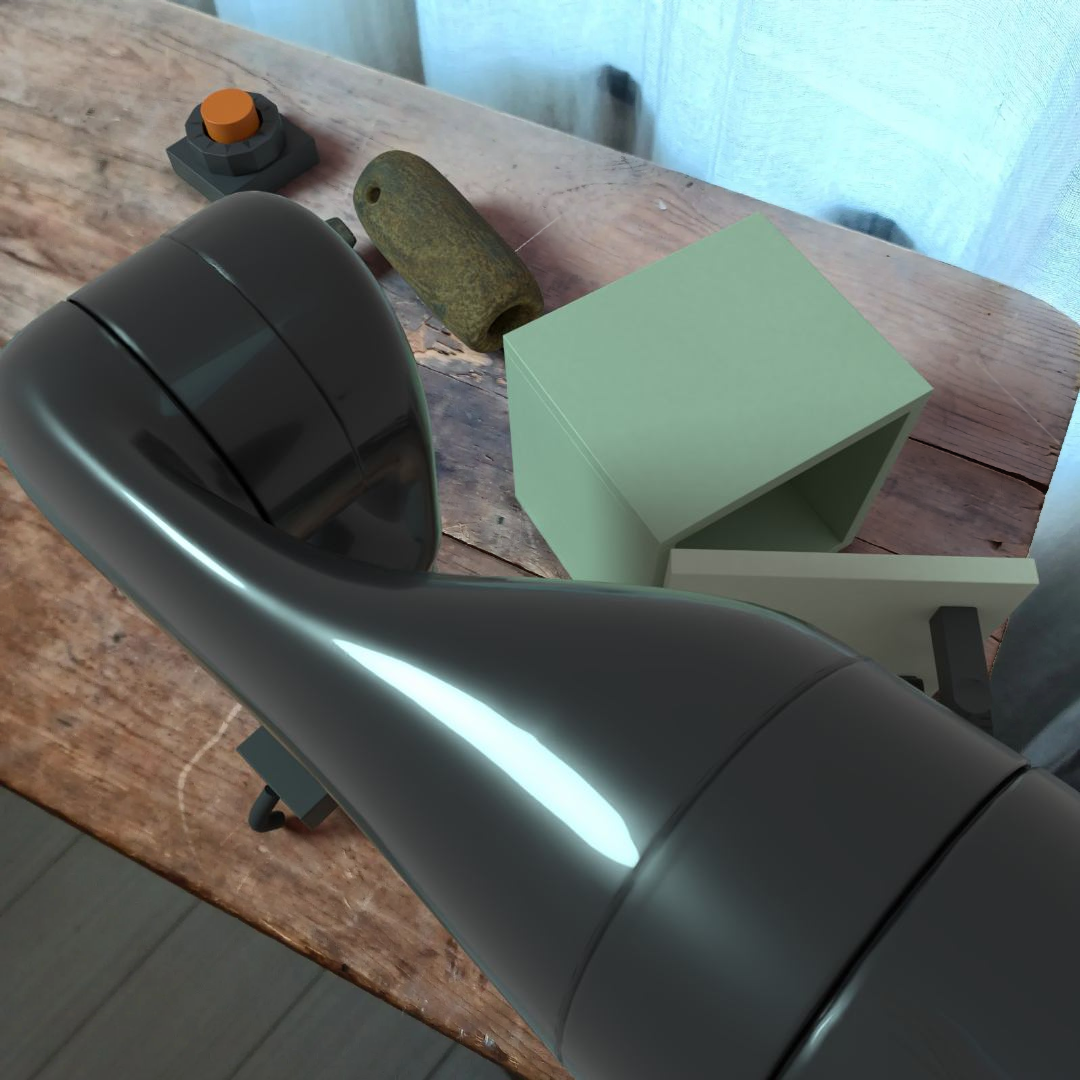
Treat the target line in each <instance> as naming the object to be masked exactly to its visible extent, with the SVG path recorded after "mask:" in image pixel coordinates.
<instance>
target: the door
mask: <svg viewBox="0 0 1080 1080" xmlns="http://www.w3.org/2000/svg"><path fill="white" fill-rule="evenodd" d="M1039 585H1040V579H1039V573H1038V568H1037V564H1036V559H1035V558H1033V557H1032V558H1031V557H1027V558H1026V557H1000V556H999V557H997V556H995V557H992V556H963V555H962V556H959V555H956V556H955V555H922V554H885V553H883V554H882V553H851V552H850V553H849V552H848V553H847V552H836V553H816V552H779V551H742V550H705V549H671V550H670V554H669V559H668V564H667V569H666V574H665V579H664V583H663V588H668V589H676V590H684V591H691V592H698V593H705V594H712V595H718V596H723V597H728V598H733V599H738V600H742V601H747V602H752V603H755V604H759V605H762V606H765V607H769V608H772V609H775V610H779V611H782V612H785V613H787V614H790V615H792V616H794V617H796V618H799V619H801V620H803V621H805V622H808V623H810V624H812V625H814V626H816V627H818V628H819V629H821V630H823V631H825V632H826V633H828V634H830V635H832V636H833V637H835V638H837V639H838V640H840V641H842V642H844V643H845V644H847V645H849V646H851V647H852V648H854V649H856V650H857V651H859V652H861V653H863V654H864V655H866V656H868V657H869V658H871V659H873V660H874V661H875V662H877V663H878V664H880V665H882V666H883V667H885V668H886V669H888V670H890V671H891V672H893V673H894V674H896V675H897V676H899V677H900V678H902V679H904V678H919V679H922V680H923V683H924V691H925V694H927V695H929V696H930V697H932V698H933V696H934V695H935V694H936V693H937V692H939V700H937V701H938V702H940V703H941V704H943V705H944V706H946V707H947V708H949V709H950V710H952V711H954V712H955V713H957V714H958V715H960V716H961V717H963V718H965V719H966V720H968V721H969V722H971V723H972V724H973V723H974V722H975V721H976V720H978V719H979V718H980V717H981V716H982V715H983V714H984V713H986V712H987V711H988V710H989V709H991V708H992V706H993V702H994V695H993V692H992V686H991V680H990V675H989V668H988V664H987V657H986V651H985V646H984V643H985V642H986V640H988V638H990V636H992V634H993V633H995V631H996V630H997V629H998V628H999V627H1000V626H1001V625H1002V624H1003V623H1004V622H1005V621H1006V619H1008V617H1009V616H1010V615H1011V614H1012V613H1014V611H1016V609H1017V608H1018V607H1019V606H1020V605H1021V604H1022V603H1023V602H1024V601H1025V600H1026V599H1027V598H1028V597H1029V596H1030V595H1031V593H1033V592H1034V590H1036V588H1037V587H1038V586H1039Z"/></svg>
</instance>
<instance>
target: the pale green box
mask: <svg viewBox="0 0 1080 1080" xmlns="http://www.w3.org/2000/svg"><path fill="white" fill-rule="evenodd" d="M503 342H504V347H503V354H504V364H505V366H504V367H505V377H506V390H507V391H506V392H507V404H508V405H507V406H508V418H509V428H510V431H509V432H510V440H511V441H510V443H511V444H510V445H511V456H512V469H513V481H514V484H513V485H514V495H515V498H516V500H517V502H518V503H519V505H520V506H521V508H522V509H523V510H524V512H525V513H526V514H527V516H528V518H529V519H530V520H531V522H532V523H533V524H534V526H535V527H536V529H537V531H538V532H539V533H540V535H541V536H542V538H543V539H544V540H545V542H546V543H547V546H549V548H550V549H551V550H552V552H553V553H554V555H555V557H556V558H557V559H558V561H559V562H560V563H561V565H562V567H563V568H564V569H565V571H566V572H567V574H568V575H569V576H570V578H571V580H584V581H599V582H609V583H619V584H629V585H639V586H649V587H659V588H663V583H664V579H665V574H666V569H667V564H668V559H669V554H670V550H671V549H705V550H742V551H779V552H816V553H839V551H841V550H843V549H844V548H846V547H848V546H849V545H851V544H852V543H853V541H854V539H855V537H856V535H857V534H858V532H859V530H860V528H861V526H862V524H863V522H864V520H865V519H866V517H867V515H868V513H869V511H870V509H871V507H872V506H873V504H874V502H875V500H876V498H877V497H878V495H879V492H880V491H881V489H882V487H883V486H884V483H885V482H886V480H887V478H888V475H889V474H890V472H891V470H892V469H893V466H894V465H895V463H896V461H897V460H898V457H899V456H900V453H901V452H902V450H903V448H904V446H905V444H906V442H907V441H908V439H909V437H910V435H911V433H912V431H913V429H914V428H915V426H916V424H917V422H918V420H919V418H920V416H921V415H922V413H923V410H924V409H925V406H926V405H927V403H928V401H929V400H930V397H931V396H932V395H933V392H934V390H935V388H934V387H933V386H932V385H931V383H929V381H928V380H927V379H925V377H924V376H922V374H921V373H919V371H917V369H916V368H915V366H913V365H912V364H911V363H910V362H909V361H908V360H907V359H906V358H905V357H904V356H903V355H902V353H900V352H899V351H898V350H897V349H896V348H895V347H894V346H893V345H892V344H891V343H890V342H889V341H888V340H887V338H885V337H884V336H883V335H882V333H880V332H879V330H877V329H876V327H875V326H874V325H872V323H870V322H869V321H868V320H867V318H866V317H865V316H864V315H863V314H862V313H861V312H860V311H859V310H858V309H857V308H856V307H855V306H854V305H853V304H852V303H851V302H850V301H849V300H848V299H847V298H846V297H845V296H844V295H843V294H842V293H841V292H840V291H839V290H838V288H836V286H834V285H833V284H832V283H831V281H829V279H827V277H825V275H824V274H823V273H822V272H820V270H819V269H818V268H817V267H816V266H815V265H814V264H813V263H812V262H811V261H810V260H809V259H808V258H807V257H806V256H805V255H804V254H803V253H802V252H801V251H800V250H799V249H798V248H797V247H796V246H795V245H794V244H793V243H792V242H791V241H790V240H789V239H788V238H787V237H786V235H784V234H783V233H782V232H781V230H780V229H778V228H777V226H776V225H775V224H773V222H772V221H771V220H769V218H768V217H767V216H766V215H764V213H763V212H762V211H761V210H759V211H756V212H755V213H753V214H751V215H748V216H746V217H744V218H742V219H740V220H738V221H735V222H733V223H732V224H730V225H728V226H726V227H724V228H721V229H719V230H718V231H715V232H714V233H712V234H709V235H707V236H705V237H703V238H700V239H699V240H697V241H694V242H692V243H690V244H688V245H687V246H684V247H682V248H681V249H679V250H676V251H674V252H672V253H670V254H668V255H666V256H664V257H662V258H660V259H657V260H656V261H653V262H652V263H650V264H647V265H645V266H643V267H641V268H639V269H637V270H635V271H633V272H631V273H629V274H627V275H624V276H623V277H621V278H619V279H616V280H615V281H612V282H610V283H608V284H606V285H604V286H602V287H600V288H598V289H596V290H593V291H592V292H590V293H587V294H585V295H583V296H581V297H579V298H577V299H575V300H574V301H571V302H569V303H567V304H565V305H563V306H561V307H558V308H556V309H554V310H553V311H551V312H549V313H546V314H544V315H542V317H540V318H538V319H536V320H534V321H532V322H530V323H528V324H526V325H524V326H522V327H519V328H517V329H515V330H513V331H511V332H509V333H507V334H505V335H503Z"/></svg>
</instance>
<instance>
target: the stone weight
mask: <svg viewBox="0 0 1080 1080" xmlns="http://www.w3.org/2000/svg"><path fill="white" fill-rule="evenodd" d="M352 203H353V207H354V211H355V213H356V215H357V218H358V221H359V223H360V224H361V226H362V229H364V231H365V233H366V235H367V236H368V238H369V239H370V241H371V242H372V243H373V245H374V246H375V248H376V249H377V250H378V251H379V252H380V254H381V255H382V256H383V257H384V259H386V260H387V261H388V263H389V264H390V265H391V267H392V268H393V269H394V270H395V271H396V273H398V275H399V276H400V277H401V279H403V280H404V282H405V283H406V284H407V285H408V286H409V287H410V289H412V291H413V292H414V293H415V294H416V295H417V297H418V298H419V299H420V300H421V302H422V303H423V304H424V305H425V307H427V309H428V310H429V311H430V312H431V314H432V315H433V316H434V317H435V318H436V319H437V320H438V321H439V322H440V323H441V324H442V325H443V326H444V327H445V328H446V329H447V330H448V331H449V332H450V333H451V334H452V335H454V337H455V338H457V339H458V341H460V342H461V343H462V344H463V345H465V346H466V347H467V348H469V350H471V351H473V352H476V353H479V354H490V353H493V352H496V351H498V350H500V349H503V348H504V342H503V335H505V334H507V333H509V332H511V331H513V330H515V329H517V328H519V327H522V326H524V325H526V324H528V323H530V322H532V321H534V320H536V319H538V318H540V317H542V316H543V314H544V311H545V300H544V295H543V292H542V289H541V287H540V285H539V282H538V281H537V279H536V277H535V275H534V274H533V272H532V271H531V269H530V268H529V267H528V265H527V263H526V262H524V260H523V259H522V258H521V257H520V255H519V254H518V253H517V252H516V251H515V250H514V248H513V247H512V246H511V245H510V244H509V243H508V242H507V241H506V240H505V239H504V237H502V236H501V235H500V233H499V232H497V230H496V229H495V228H494V227H493V226H492V224H491V223H489V222H488V221H487V220H486V219H485V217H484V216H483V215H482V214H481V213H480V212H479V211H478V210H477V209H476V208H475V207H474V205H473V204H472V203H471V202H470V200H468V199H467V198H466V196H464V195H463V194H462V192H461V191H459V189H458V188H457V187H456V186H455V185H454V184H453V183H452V182H451V181H450V180H449V179H448V178H447V177H446V176H444V175H443V173H441V172H440V171H439V170H438V169H437V168H436V167H435V166H434V165H433V164H431V163H430V162H429V161H427V160H426V159H424V158H423V157H422V156H420V155H419V154H414V153H412V152H409V151H407V150H398V149H393V150H387V151H385V152H382V153H380V154H378V155H377V156H376V157H374V158H373V159H372V160H371V161H370V162H369V163H368V164H367V165H366V166H365V167H364V169H363V170H362V172H361V174H360V175H359V177H358V179H357V181H356V183H355V185H354V188H353V192H352Z"/></svg>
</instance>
